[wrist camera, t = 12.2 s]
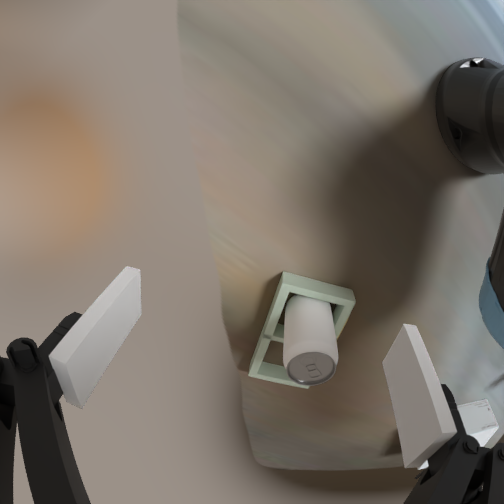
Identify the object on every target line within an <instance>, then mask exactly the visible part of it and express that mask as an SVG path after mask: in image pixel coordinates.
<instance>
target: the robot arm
mask: <svg viewBox="0 0 504 504" xmlns="http://www.w3.org/2000/svg"><path fill="white" fill-rule="evenodd" d="M436 114H437V120H438V125H439V128H440V131H441V134H442V137H443V139H444V141H445V143H446V145H447V146H448V148H449V149H450V151H451V152H452V153H453V155H454V156H455V157H456V158H457V159H458V160H459V161H460V162H462V163H463V164H464V165H466V166H468V167H470V168H472V169H474V170H477V171H479V172H482V173H486V174H501V173H504V65H502V64H500V63H497V62H495V61H492V60H490V59H486V58H469V59H464V60H460V61H458V62H456V63H454V64H453V65H452V66H450V67H449V68H448V69H447V71H446V72H445V73H444V75H443V77H442V78H441V81H440V83H439V86H438V90H437V96H436ZM479 308H480V311H481V314H482V318H483V321H484V323H485V325H486V327H487V329H488V331H489V332H490V334H491V335H492V337H493V338H494V339H495V340H496V342H497V343H498V344H499V345H500V346H501V347H502V348H503V349H504V209H503V213H502V218H501V222H500V226H499V229H498V233H497V237H496V240H495V244H494V247H493V251H492V254H491V257H489V259H488V261H487V264H486V273H485V277H484V280H483V283H482V286H481V290H480V294H479ZM141 314H142V312H141V276H140V269H136V268H132V267H128V266H126V267H125V268H124V270H123V271H122V272H121V273H120V274H119V275H118V276H117V277H116V278H115V279H114V280H113V282H112V283H111V284H110V285H109V286H108V287H107V288H106V289H105V290H104V291H103V292H102V294H101V295H100V296H99V297H98V298H97V299H96V300H95V301H94V302H93V304H92V305H91V306H90V307H89V308H88V309H87V311H86V312H85V313H84V314H83V315H82V314H79V313H76V312H74V313H72V314H70V315H68V316H66V317H65V318H64V319H63V320H62V321H61V322H60V323H59V325H58V326H57V327H56V328H55V329H54V330H53V332H52V333H51V334H50V335H49V336H48V337H47V338H46V339H45V341H44V342H43V343H42V344H41V345H40V346H39V348H37V345H36V343H35V342H34V341H33V340H32V339H29V338H19V339H16V340H14V341H13V342H11V343H10V344H9V346H8V347H7V351H6V353H7V355H8V358H9V359H8V358H3V357H0V504H13V466H14V449H15V437H16V427H17V423H18V430H19V437H20V443H21V448H22V454H23V459H24V464H25V469H26V473H27V477H28V481H29V486H30V490H31V493H32V497H33V500H34V504H91V503H90V501H89V498H88V495H87V493H86V490H85V487H84V485H83V482H82V479H81V476H80V473H79V470H78V467H77V465H76V461H75V458H74V455H73V451H72V448H71V444H70V441H69V437H68V434H67V430H66V426H65V422H64V417H63V414H62V409H61V404H60V402H59V399H60V398H61V396H62V395H64V397H65V399H66V402H68V403H70V404H72V405H74V406H76V407H79V408H81V409H82V408H83V406H84V405H85V403H86V402H87V400H88V398H89V397H90V395H91V393H92V391H93V390H94V388H95V386H96V385H97V383H98V382H99V380H100V378H101V377H102V375H103V374H104V371H105V370H106V369H107V367H108V365H109V364H110V362H111V361H112V359H113V357H114V356H115V354H116V353H117V351H118V350H119V348H120V346H121V345H122V343H123V342H124V340H125V339H126V337H127V335H128V334H129V333H130V331H131V330H132V328H133V326H134V325H135V323H136V322H137V320H138V319H139V317H140V316H141ZM382 364H383V368H384V372H385V376H386V380H387V384H388V388H389V392H390V397H391V401H392V405H393V410H394V414H395V419H396V424H397V429H398V433H399V439H400V444H401V449H402V455H403V460H404V466H405V468H411V467H420V466H421V465H422V464H423V463H424V462H426V461H428V467H427V468H426V469H424V470H423V471H422V472H421V473H419V474H418V475H417V476H416V477H415V478H416V479H417V478H419V477H420V476H421V477H420V478H419V480H418V482H417V484H416V485H415V487H414V488H413V490H412V491H411V493H410V495H409V496H408V498H407V499H406V501H405V502H404V504H504V443H498V444H496V445H495V446H494V447H493V448H492V449H489V448H485V447H480V444H479V442H478V441H477V439H475V438H474V437H473V436H470V435H467V433H466V430H465V427H464V425H463V422H462V419H461V416H460V413H459V410H457V409H458V408H457V405H456V403H455V400H454V397H453V395H452V392H451V391H450V390H449V388H448V387H447V386H446V385H445V384H440V382H439V379H438V377H437V374H436V372H435V369H434V367H433V364H432V362H431V359H430V357H429V355H428V352H427V350H426V347H425V345H424V343H423V340H422V338H421V336H420V334H419V331H418V329H417V327H416V325H409V324H403V326H402V327H401V329H400V331H399V333H398V335H397V337H396V339H395V341H394V342H393V344H392V346H391V348H390V350H389V351H388V353H387V355H386V357H385V358H384V360H383V362H382ZM482 486H483V489H482Z"/></svg>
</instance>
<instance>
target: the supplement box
mask: <svg viewBox="0 0 504 504" xmlns="http://www.w3.org/2000/svg"><path fill="white" fill-rule="evenodd" d="M457 408H458V409H457V410H459V413H460V416H461V419H462V422H463V425H464V427H465V430H466V433H467V435H470V436H473V437H474V438H475V439H477V441H478V442H479V444H480V447H483V446H484V445H485V444H486V443H487V441H488V440H489V439H490V438H491V437H492V435H493V434H494V433H495V432H496V430H497V429H498V428H499V426H498V424H497V421H496V419H495V416H494V414H493V412H492V409H491V407H490V405H489V402H488V400H487V399H483V400H479V401H475V402H471V403H467V404H462V405H458V406H457ZM427 467H428V461H426V462H424V463H423V464H422V465H421V466H420V467H417V468H418V470H419V469H424V468H427Z"/></svg>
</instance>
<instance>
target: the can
mask: <svg viewBox="0 0 504 504" xmlns="http://www.w3.org/2000/svg"><path fill="white" fill-rule="evenodd" d="M283 363H284V367H285V369H286V373H287V376H288V377H289V378H290V380H292V381H293V382H295V383H297V384H299V385H304V386H315V385H319V384H322V383H325V382H327V381H328V380H329V379H331V378H332V377H333V375H334V374H335V372H336V365H337V363H338V348H337V341H336V335H335V328H334V322H333V316H332V311H331V306H330V303H329V302H327V301H323V300H319V299H315V298H311V297H307V296H303V295H299V294H296V295H294V296H293V297H291V298H290V300H289V301H288V302H287V304H286V308H285V324H284V346H283Z"/></svg>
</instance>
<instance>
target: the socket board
mask: <svg viewBox="0 0 504 504" xmlns="http://www.w3.org/2000/svg"><path fill="white" fill-rule="evenodd" d="M289 292H292V293H296V294H299V295H303V296H307V297H311V298H315V299H319V300H323V301H327V302H331V303H335V304H337V305H336V307H335V309H334V311H333V313H332V316H333V322H334V328H335V335H336V340H337V339H338V337H339V336H340V334H341V332H342V330H343V328H344V326H345V324H346V322H347V321H348V319H349V315H350V313H351V311H352V309H353V307H354V305H355V303H356V300H355V297H354V294H353V290H351V289H348V288H344V287H340V286H336V285H333V284H329V283H325V282H322V281H318V280H314V279H310V278H307V277H303V276H299V275H296V274H292V273H288V272H284V271H283V273H282V275H281V278H280V281H279V284H278V287H277V290H276V293H275V296H274V298H273V301H272V304H271V307H270V310H269V313H268V315H267V318H266V321H265V324H264V327H263V329H262V332H261V335H260V338H259V340H258V343H257V346H256V349H255V351H254V354H253V357H252V359H251V362H250V367H249V373H248V376H250V377H254V378H259V379H263V380H267V381H272V382H276V383H281V384H286V385H291V386H296V387H301V388H306V389H308V388H309V387H310V386H304V385H299V384H297V383H295V382H293V381H292V380H290V378H289V377H288V376H287V373H286V369H285V367H284V366H280V365H275V364H271V363H267V362H263V358H264V356H265V353H266V351H267V348H268V346H269V343H270V341H271V340H274V341H278V342H282V343H284V325H281V324H277V323H278V320H279V318H280V315H281V312H282V310H283V307H284V305H285V302H286V299H287V297H288V294H289Z"/></svg>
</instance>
